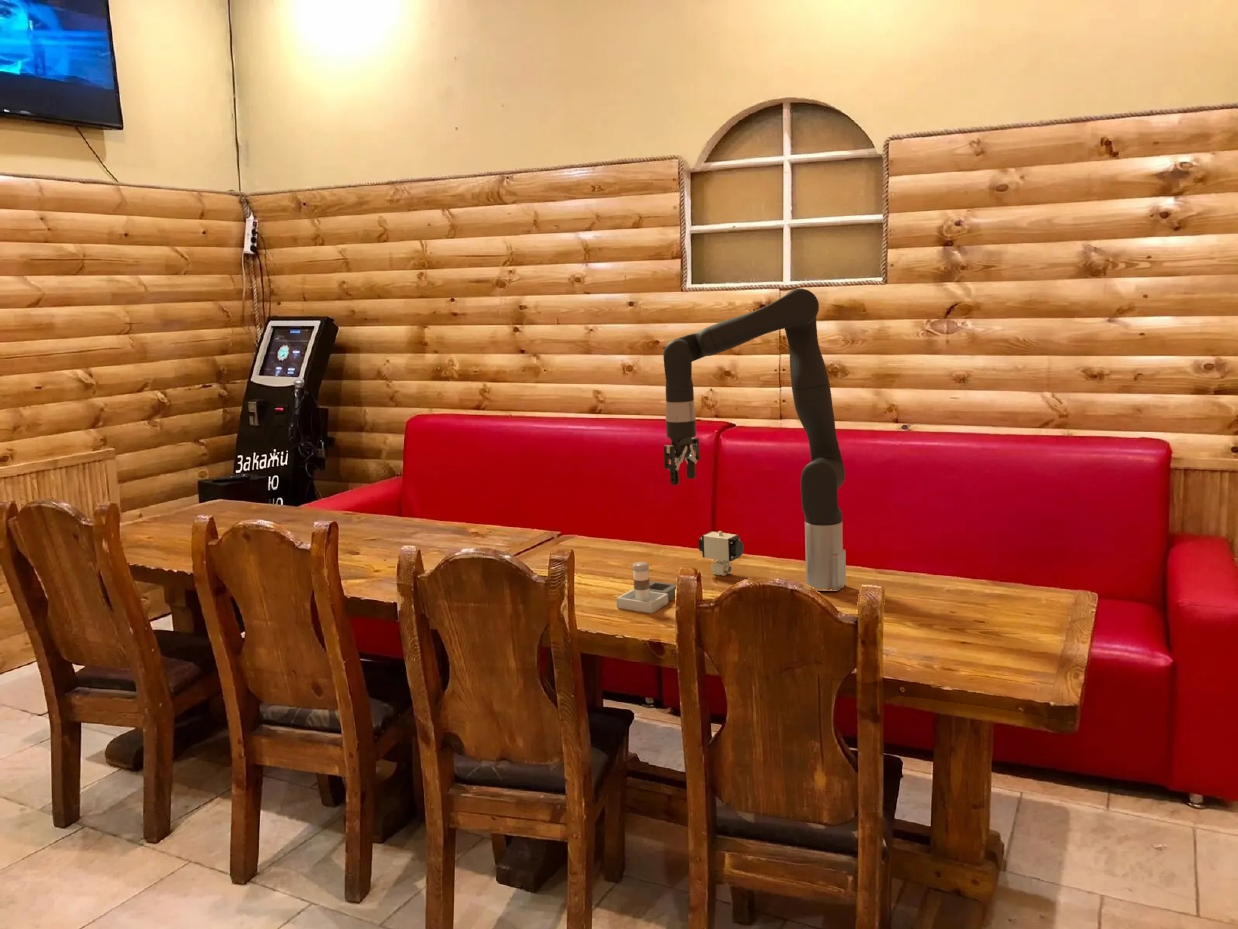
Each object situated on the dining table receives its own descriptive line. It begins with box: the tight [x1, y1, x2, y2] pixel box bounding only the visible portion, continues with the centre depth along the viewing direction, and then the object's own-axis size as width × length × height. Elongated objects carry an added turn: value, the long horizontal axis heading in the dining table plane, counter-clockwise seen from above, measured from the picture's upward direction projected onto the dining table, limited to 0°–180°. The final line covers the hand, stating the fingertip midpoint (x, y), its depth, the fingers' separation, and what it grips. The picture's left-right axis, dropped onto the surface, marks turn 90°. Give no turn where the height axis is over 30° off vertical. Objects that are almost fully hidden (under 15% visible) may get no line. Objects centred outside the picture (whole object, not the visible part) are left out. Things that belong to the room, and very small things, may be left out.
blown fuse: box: [632, 561, 651, 602], centre depth 233 cm, size 4×4×10 cm
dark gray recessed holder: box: [649, 580, 676, 602], centre depth 240 cm, size 8×7×2 cm
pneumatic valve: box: [697, 530, 744, 577], centre depth 255 cm, size 6×12×12 cm, turn 53°
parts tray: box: [615, 588, 669, 614], centre depth 234 cm, size 10×8×2 cm
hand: (683, 481), depth 242 cm, fingers open, 8 cm apart
